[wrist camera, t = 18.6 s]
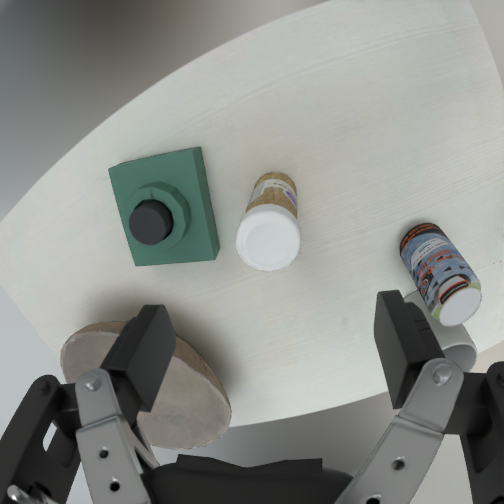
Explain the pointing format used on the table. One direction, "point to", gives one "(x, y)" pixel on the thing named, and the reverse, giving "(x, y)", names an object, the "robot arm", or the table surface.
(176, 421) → the bowl
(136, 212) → the button
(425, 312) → the mug
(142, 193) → the green push button box
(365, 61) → the table surface
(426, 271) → the beverage can
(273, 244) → the sprinkles bottle
